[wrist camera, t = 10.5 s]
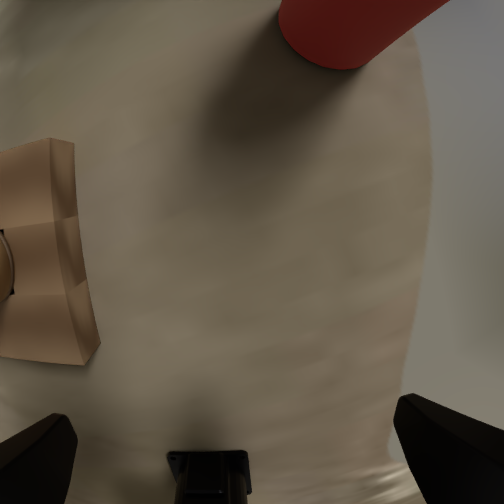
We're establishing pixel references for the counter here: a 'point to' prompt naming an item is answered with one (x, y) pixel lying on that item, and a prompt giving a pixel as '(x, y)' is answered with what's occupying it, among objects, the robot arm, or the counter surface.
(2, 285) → the peg
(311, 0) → the beer can
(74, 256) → the board
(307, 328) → the counter surface
